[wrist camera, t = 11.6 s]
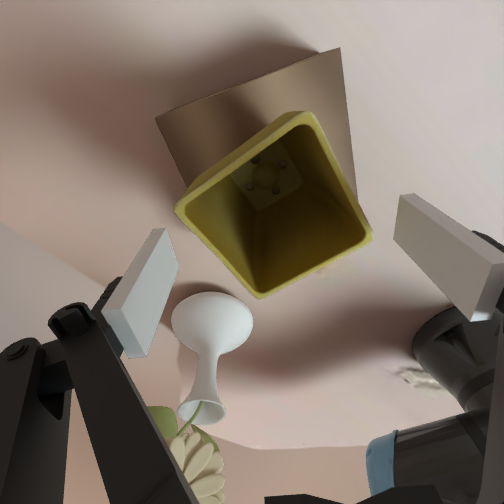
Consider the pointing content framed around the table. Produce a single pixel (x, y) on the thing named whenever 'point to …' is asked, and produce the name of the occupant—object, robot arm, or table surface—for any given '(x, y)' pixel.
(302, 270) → the flower pot
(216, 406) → the flower in vase
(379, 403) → the table surface
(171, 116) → the walnut block
